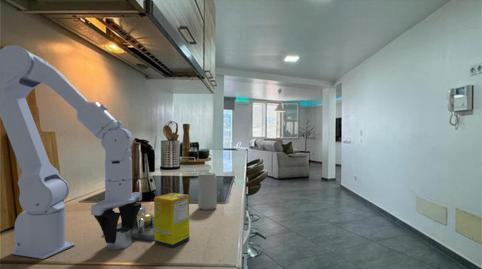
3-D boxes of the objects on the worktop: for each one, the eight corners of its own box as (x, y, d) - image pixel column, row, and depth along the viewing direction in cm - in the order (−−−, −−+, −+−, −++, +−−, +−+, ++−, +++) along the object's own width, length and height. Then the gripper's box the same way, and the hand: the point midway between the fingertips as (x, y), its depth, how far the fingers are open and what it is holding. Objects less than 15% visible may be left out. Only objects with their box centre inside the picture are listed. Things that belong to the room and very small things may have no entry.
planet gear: (102, 248, 65) (102, 232, 65) (117, 240, 70) (117, 225, 70) (120, 250, 64) (120, 234, 64) (135, 242, 69) (135, 227, 69)
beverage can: (218, 205, 102) (218, 172, 102) (214, 210, 96) (214, 174, 96) (200, 205, 103) (200, 171, 103) (196, 210, 97) (195, 174, 97)
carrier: (103, 234, 74) (103, 214, 74) (138, 219, 87) (138, 201, 87) (153, 240, 70) (153, 219, 70) (181, 223, 83) (181, 205, 83)
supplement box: (171, 235, 73) (171, 192, 73) (190, 239, 70) (189, 194, 70) (153, 243, 68) (153, 196, 68) (172, 248, 65) (172, 199, 65)
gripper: (110, 185, 59) (111, 252, 59) (152, 175, 73) (152, 229, 73) (82, 184, 61) (83, 248, 61) (128, 174, 75) (128, 227, 75)
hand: (119, 238), depth 67 cm, fingers closed on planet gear, 5 cm apart
